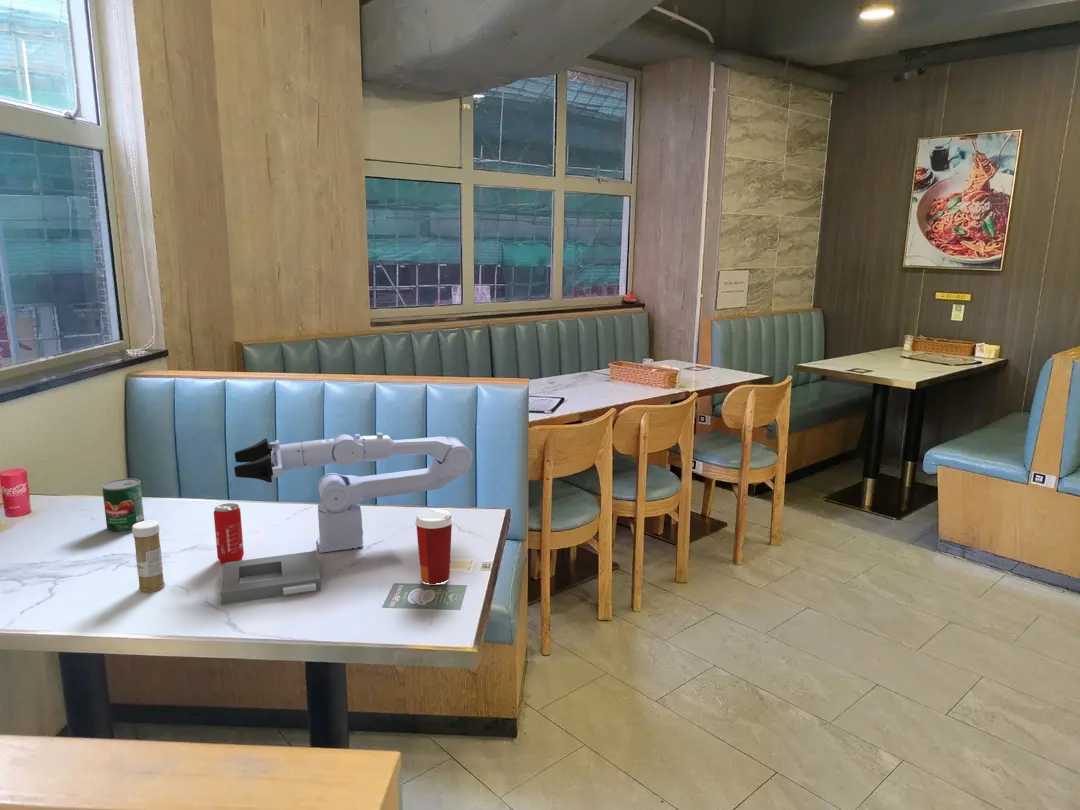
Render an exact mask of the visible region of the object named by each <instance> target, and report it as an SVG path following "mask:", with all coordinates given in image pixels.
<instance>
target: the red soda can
mask: <svg viewBox="0 0 1080 810" xmlns="http://www.w3.org/2000/svg"><path fill="white" fill-rule="evenodd" d="M241 513H242V511H241V508H240V506H239V504H237V503H233V502H231V503H229V502H228V503H222V504H219V505H217V506H214V511H213V522H214V530H215V531H214V532H215V541H216V542H215V543H216V552H217V553H216V554H217V560H219V563H220V564H222V565H224V563H226V562H234V561H242V560H243V556H244V554H245V552H244V541H243V528H242V527H243V526H242V525H243V524H242V516H241V515H242V514H241Z"/></svg>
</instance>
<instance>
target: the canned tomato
mask: <svg viewBox="0 0 1080 810" xmlns="http://www.w3.org/2000/svg"><path fill="white" fill-rule="evenodd" d="M101 489H102V496H103V505H104V514H105V523H106V531H107V532H108V533H109V534H113V535H121V534H122V535H123V534H129V533H133V532H132V526H133V525H134V524H136V523H138V522H141V521H145V515H144V506H143V505H144V504H143V496H142V494H143V493H142V487H141V480H140V479H137V478H119V479H115V480H110V481H107V482H105V483H103V484H102V485H101Z"/></svg>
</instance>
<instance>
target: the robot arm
mask: <svg viewBox="0 0 1080 810" xmlns="http://www.w3.org/2000/svg"><path fill="white" fill-rule="evenodd" d="M395 455H397V456H398V455H399V456H401V455H402V456H414V455H415V456H416V455H417V456H423V455H425V456H430V457H431V458H433V460H432V461H431V463H430V464H429V466H428V467H427V468H426V467H425V468H419V469H409V470H403V471H395V472H387V473H379V474H372V475H364V476H362V475H361V476H357V475H352V474H347V475H346V474H345V475H344V474H343V475H342V474H339V473H335V472H330V473H327V474H324V475H323V476H321V478H320V479H319V480H318V484H317V491H318V493H319V497H320V503H318V505H317V515H318V519H317V520H318V533H319V534H318V535H319V536H318V537H317V538H316V541H317V546H318V553H328V552H329V553H330V552H337V551H344V550H352V548H353V549H359V548H358V547H361V548H364V540H363V539H364V538H363V537H364V531H363V517H362V516H363V515H362V510H361V509H362V508H361V505H360V504H359V503H361V502H362V501H364V500H366V499H367V500H368V499H375V498H376V499H377V498H384V497H390V496H391V497H392V496H397V495H405V494H406V495H407V494H413V493H419V492H426V491H433V490H434V491H435V490H440V489H442V488H444V487H445V486H446V485H447V486H448V484H450V483H451V482H453V481H454V480H455V479H457V478H459V477H462V476H465V475H466V473H467V472H468V470H469V469H470V468H471V465H473V461H474V455H473V452H472V450H471V449H470V448H468V447H467V446H466V445H465V444H464V443H463V442H462V440H460V439H459V438H458V437H455V436H448V437H446V436H432V437H419V438H407V439H406V438H405V439H394V440H393V439H392V438H391V437H390V436H389V435H388V434H385V435H384V433H383V432H376V435H360V433H356V434H354V437H353V436H352V435H350V434H344V433H342V432H341V433H338V434H337V435H335V436H334V437H332V438H327V439H316V440H315V439H313V440H307V441H299V442H292V443H291V442H290V443H286V444H280V441H279V439H277V440H275V441H271V442H268V438H263V439H262V440H260V441H259V442H258V443H256V444H254V445H251V446H249V447H246V448H243V449H240V450H237V451H235V452H234V459H235V462H236V463H242V464H238V465H236V466H234V467H233V469H234V474H235V478H243V479H256V480H260V481H264V482H267V483H272V482H273V479H272V478H280V477H284V473H283V472H288V471H294V470H300V469H301V470H302V469H308V468H315V467H322V466H326V465H333V464H338V463H339V464H340V465H342V466H349V467H350V466H353V465H354V464H356V463H357V462H359V463H360V462H378V461H379V462H380V461H381V462H382V461H384V462H385V461H389V460H390V459H391V458H392V457H394V456H395Z"/></svg>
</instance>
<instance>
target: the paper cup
mask: <svg viewBox="0 0 1080 810" xmlns="http://www.w3.org/2000/svg"><path fill="white" fill-rule="evenodd" d="M413 521H414V525H415V526H416V537H417V549H418V558H419V567H420V568H419V569H420V578H421V579H422V580H421V579H420V580H421V582H422V581H423V582H425V583H429V584H436V583H441V582H444V581H446V580H448V579H449V580H450V574H451V572H450V569H451V568H450V567H451V554H452V553H451V550H452V548H451V547H452V530H453V529H452V526H453V522H454V518H453V517H452V514H451V512H449V511H447V510H445V509H439V508H438V509H437V508H434V509H426V510H422V511H420V512H418V514H417V515H416V517H415V519H414V520H413Z"/></svg>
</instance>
